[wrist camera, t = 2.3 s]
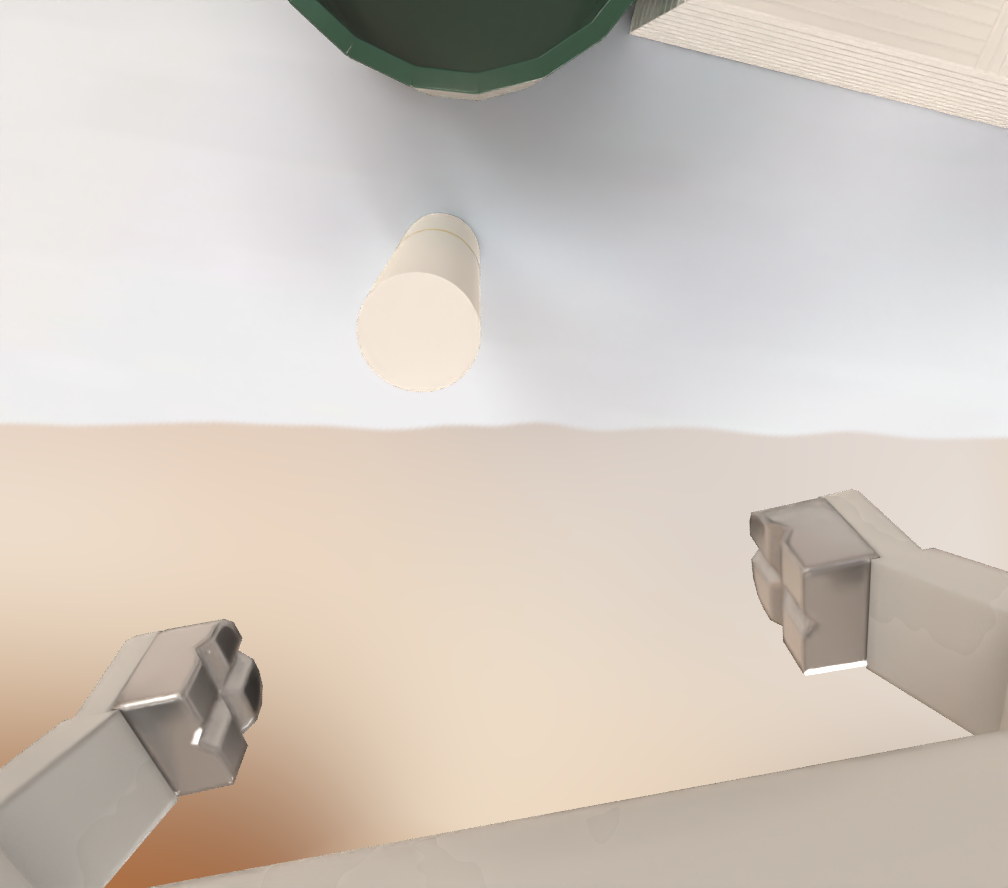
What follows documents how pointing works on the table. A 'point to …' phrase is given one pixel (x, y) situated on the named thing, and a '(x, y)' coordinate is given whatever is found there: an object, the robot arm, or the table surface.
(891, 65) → the cream long block
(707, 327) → the table surface
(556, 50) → the pot
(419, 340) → the tube
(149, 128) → the table surface
